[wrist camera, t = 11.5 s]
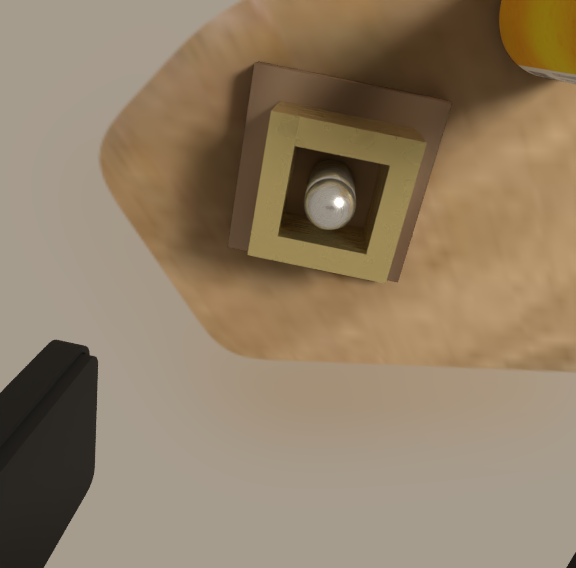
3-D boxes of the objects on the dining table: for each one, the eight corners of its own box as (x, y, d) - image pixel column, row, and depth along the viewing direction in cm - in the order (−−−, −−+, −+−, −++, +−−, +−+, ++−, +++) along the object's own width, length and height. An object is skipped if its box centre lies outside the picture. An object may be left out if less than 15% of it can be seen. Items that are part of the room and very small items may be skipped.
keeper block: (446, 99, 28) (478, 119, 22) (395, 271, 32) (409, 330, 26) (258, 61, 28) (234, 69, 22) (232, 238, 32) (205, 288, 26)
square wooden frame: (415, 128, 27) (426, 142, 24) (380, 253, 30) (385, 283, 27) (280, 100, 27) (271, 110, 24) (258, 228, 30) (247, 254, 27)
